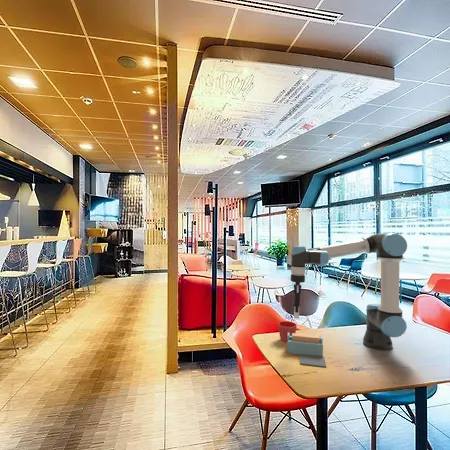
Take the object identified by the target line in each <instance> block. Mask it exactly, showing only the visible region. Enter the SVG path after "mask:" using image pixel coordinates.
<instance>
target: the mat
mask: <svg viewBox="0 0 450 450" xmlns="http://www.w3.org/2000/svg"><path fill="white" fill-rule="evenodd" d="M299 362H300V365H302V366H309V367H319V368H327V363H326V360H325V357H324V356H323V357H319V356H309V355H300V354H299Z"/></svg>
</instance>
